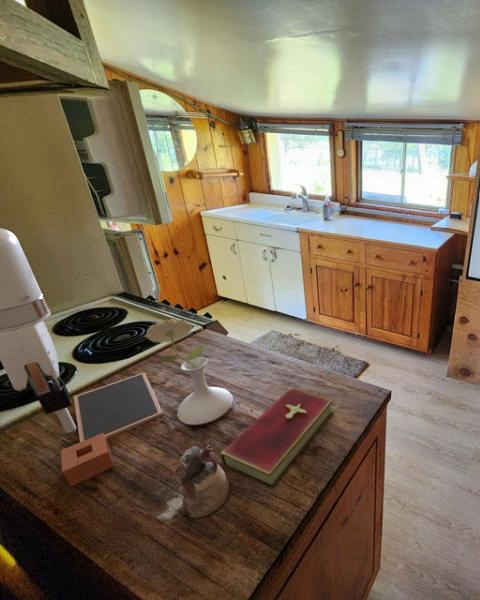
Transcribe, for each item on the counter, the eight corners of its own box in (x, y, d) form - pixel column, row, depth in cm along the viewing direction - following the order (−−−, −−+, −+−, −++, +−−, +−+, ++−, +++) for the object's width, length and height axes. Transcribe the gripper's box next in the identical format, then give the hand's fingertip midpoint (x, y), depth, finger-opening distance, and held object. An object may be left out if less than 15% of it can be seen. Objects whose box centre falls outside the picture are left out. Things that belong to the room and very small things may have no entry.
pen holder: (70, 486, 59) (62, 471, 57) (68, 464, 63) (60, 450, 61) (114, 466, 63) (107, 451, 61) (110, 446, 67) (103, 432, 65)
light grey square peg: (67, 437, 58) (40, 384, 53) (67, 432, 59) (40, 380, 54) (78, 433, 59) (52, 380, 54) (77, 428, 60) (52, 376, 55)
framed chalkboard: (82, 449, 66) (80, 446, 65) (74, 398, 78) (73, 395, 78) (163, 415, 75) (162, 412, 75) (145, 374, 88) (144, 371, 87)
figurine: (193, 482, 60) (177, 436, 55) (234, 476, 62) (222, 430, 57) (178, 521, 54) (159, 473, 49) (224, 513, 56) (210, 465, 51)
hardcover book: (223, 466, 64) (219, 451, 62) (292, 398, 82) (290, 385, 80) (272, 489, 60) (269, 473, 58) (333, 412, 78) (332, 399, 76)
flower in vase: (237, 391, 83) (218, 304, 73) (229, 424, 73) (206, 328, 63) (180, 399, 80) (151, 308, 69) (163, 435, 70) (126, 336, 59)
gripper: (-22, 301, 51) (28, 392, 59) (-35, 342, 41) (26, 445, 49) (46, 289, 56) (83, 375, 64) (48, 324, 46) (92, 420, 54)
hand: (58, 405), depth 56 cm, fingers closed on light grey square peg, 1 cm apart
